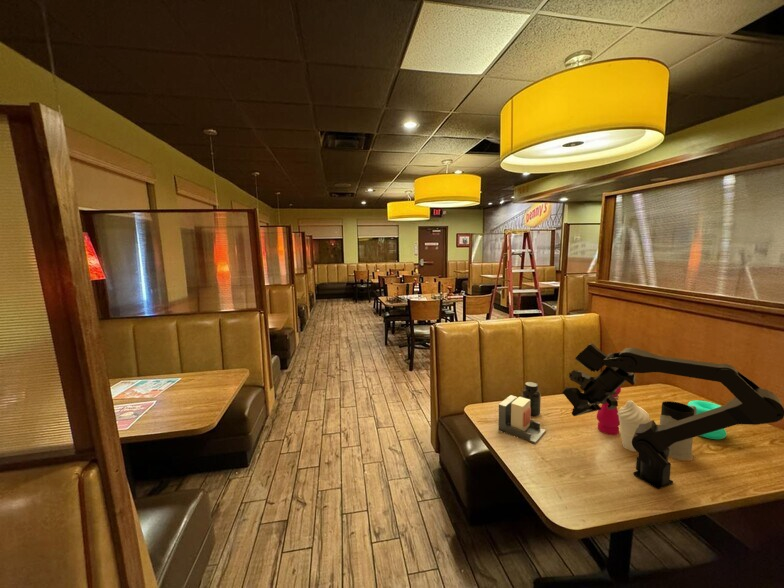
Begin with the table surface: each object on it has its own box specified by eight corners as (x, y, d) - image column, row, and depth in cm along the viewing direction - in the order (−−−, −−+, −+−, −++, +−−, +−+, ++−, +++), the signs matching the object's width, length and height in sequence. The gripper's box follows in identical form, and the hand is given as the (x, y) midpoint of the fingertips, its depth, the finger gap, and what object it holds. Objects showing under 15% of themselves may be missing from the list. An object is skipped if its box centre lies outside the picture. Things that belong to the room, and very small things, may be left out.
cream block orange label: (531, 426, 114) (532, 400, 113) (523, 434, 109) (524, 407, 108) (518, 422, 117) (519, 396, 116) (510, 429, 112) (511, 403, 111)
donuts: (734, 407, 106) (721, 415, 101) (731, 435, 107) (719, 444, 102) (695, 396, 115) (682, 403, 110) (692, 422, 116) (680, 429, 111)
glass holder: (649, 447, 102) (652, 403, 100) (676, 437, 107) (680, 395, 105) (682, 463, 94) (686, 416, 92) (709, 451, 99) (714, 406, 97)
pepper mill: (624, 436, 108) (628, 381, 106) (601, 435, 109) (604, 380, 107) (614, 425, 115) (617, 373, 113) (592, 424, 116) (595, 372, 114)
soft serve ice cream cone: (645, 444, 103) (648, 398, 101) (650, 459, 96) (653, 409, 94) (614, 437, 108) (616, 393, 106) (616, 451, 100) (619, 403, 99)
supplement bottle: (521, 407, 130) (521, 380, 129) (539, 410, 128) (540, 381, 127) (521, 415, 124) (522, 386, 123) (540, 418, 122) (541, 388, 120)
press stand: (545, 432, 112) (546, 405, 111) (535, 444, 105) (536, 416, 104) (510, 419, 121) (510, 395, 120) (498, 430, 114) (498, 404, 113)
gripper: (605, 364, 103) (575, 395, 111) (567, 359, 96) (537, 393, 103) (634, 392, 95) (599, 423, 102) (594, 389, 87) (559, 423, 95)
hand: (573, 414), depth 101 cm, fingers closed
